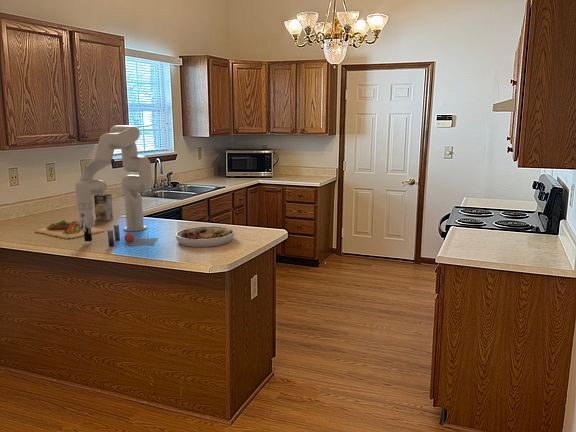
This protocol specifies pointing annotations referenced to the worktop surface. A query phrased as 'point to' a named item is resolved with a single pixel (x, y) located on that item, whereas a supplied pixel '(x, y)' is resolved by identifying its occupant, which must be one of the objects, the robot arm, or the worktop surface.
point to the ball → (129, 237)
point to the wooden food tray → (67, 229)
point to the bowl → (205, 236)
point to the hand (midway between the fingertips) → (88, 240)
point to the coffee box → (103, 206)
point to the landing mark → (142, 242)
